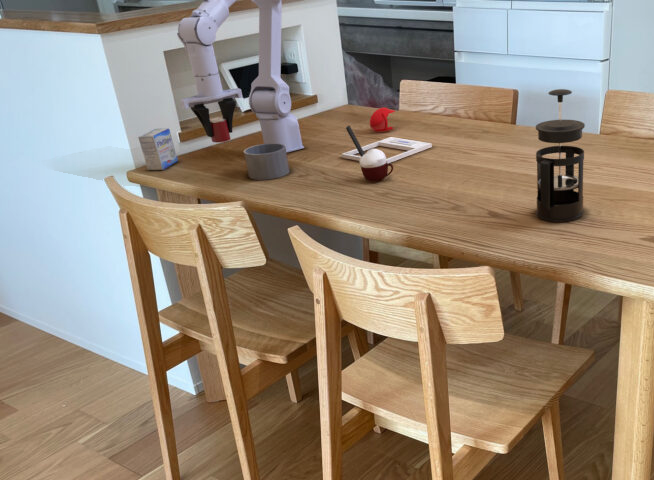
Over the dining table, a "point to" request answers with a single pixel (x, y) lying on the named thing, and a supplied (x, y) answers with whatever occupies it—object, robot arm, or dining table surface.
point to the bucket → (266, 161)
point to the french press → (558, 190)
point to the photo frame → (392, 143)
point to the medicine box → (158, 149)
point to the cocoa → (371, 161)
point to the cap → (380, 120)
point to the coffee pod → (219, 129)
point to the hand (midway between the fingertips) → (220, 134)
